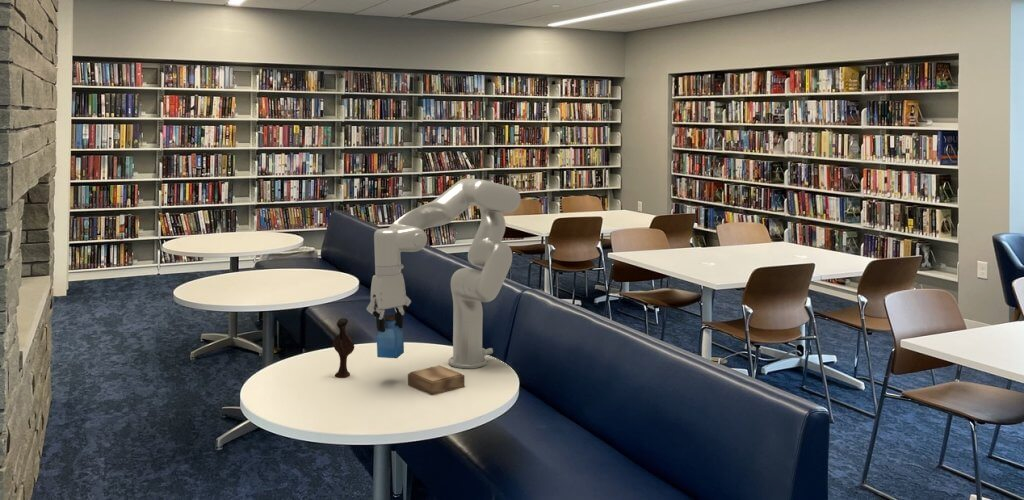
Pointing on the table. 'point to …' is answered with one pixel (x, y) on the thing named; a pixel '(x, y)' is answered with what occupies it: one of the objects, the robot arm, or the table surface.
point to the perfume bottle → (390, 339)
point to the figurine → (343, 348)
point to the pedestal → (435, 380)
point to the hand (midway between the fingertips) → (389, 328)
